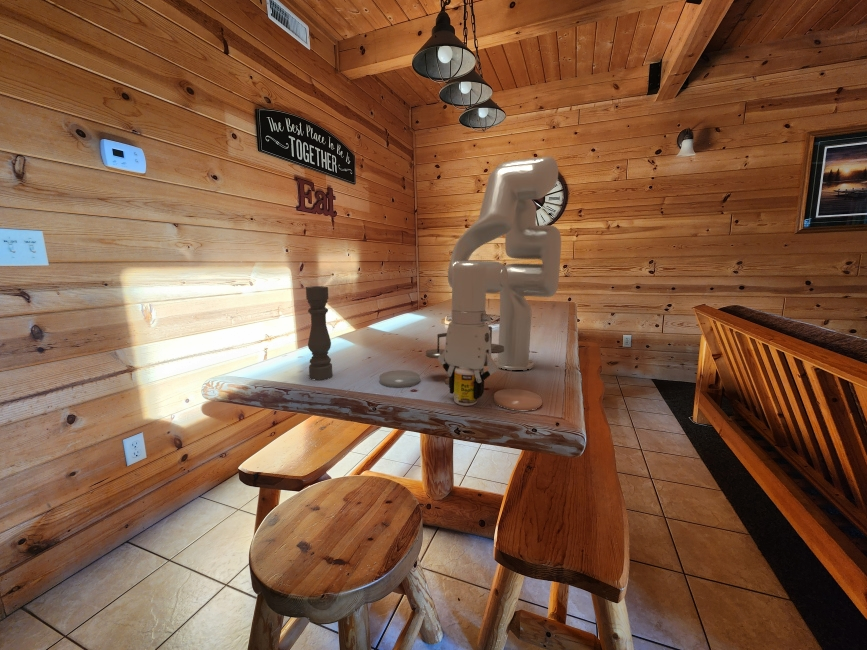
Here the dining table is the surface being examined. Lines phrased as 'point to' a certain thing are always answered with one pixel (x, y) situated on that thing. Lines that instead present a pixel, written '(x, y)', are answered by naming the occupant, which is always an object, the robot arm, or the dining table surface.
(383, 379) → the slate dish
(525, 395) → the terracotta dish
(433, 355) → the balance
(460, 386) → the supplement bottle
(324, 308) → the candle holder
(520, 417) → the dining table surface
